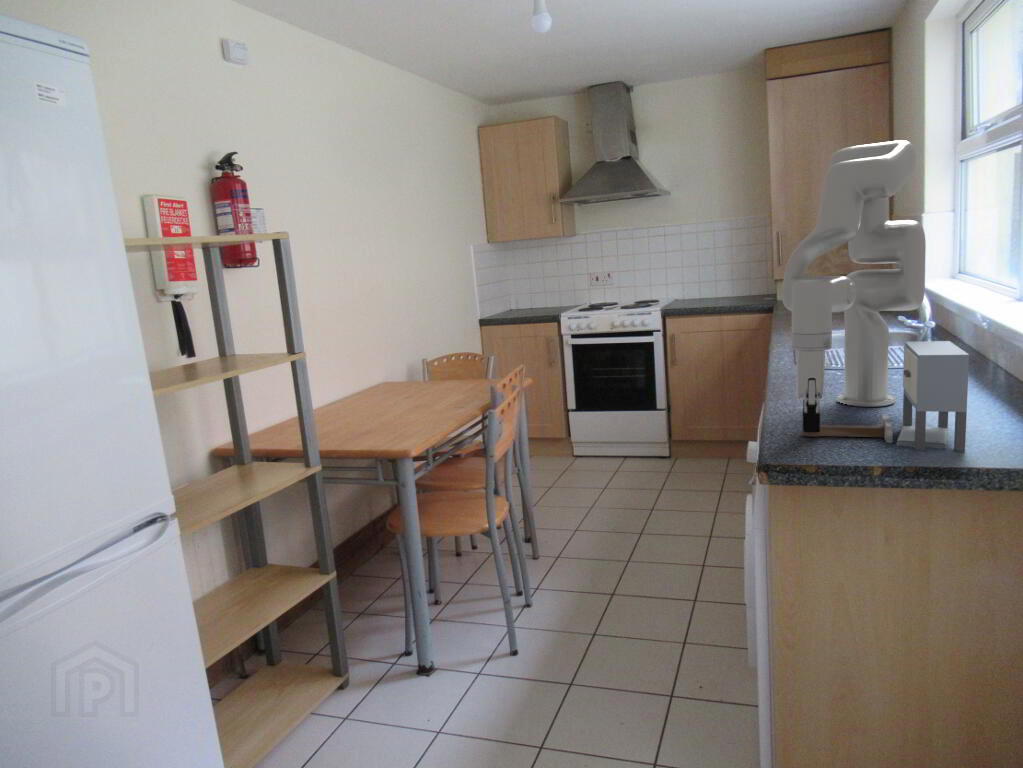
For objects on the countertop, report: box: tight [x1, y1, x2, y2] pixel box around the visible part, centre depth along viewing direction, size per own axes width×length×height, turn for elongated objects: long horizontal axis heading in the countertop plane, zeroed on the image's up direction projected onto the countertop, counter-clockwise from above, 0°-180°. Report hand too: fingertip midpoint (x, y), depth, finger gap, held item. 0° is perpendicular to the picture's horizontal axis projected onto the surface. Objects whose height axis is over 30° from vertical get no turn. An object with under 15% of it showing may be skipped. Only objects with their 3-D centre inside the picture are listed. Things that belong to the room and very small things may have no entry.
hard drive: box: [896, 425, 948, 449], centre depth 147 cm, size 2×8×12 cm
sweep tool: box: [802, 399, 894, 444], centre depth 151 cm, size 10×16×7 cm, turn 69°
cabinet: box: [902, 340, 970, 453], centre depth 145 cm, size 18×9×18 cm, turn 160°
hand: (811, 428), depth 154 cm, fingers closed on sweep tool, 3 cm apart
